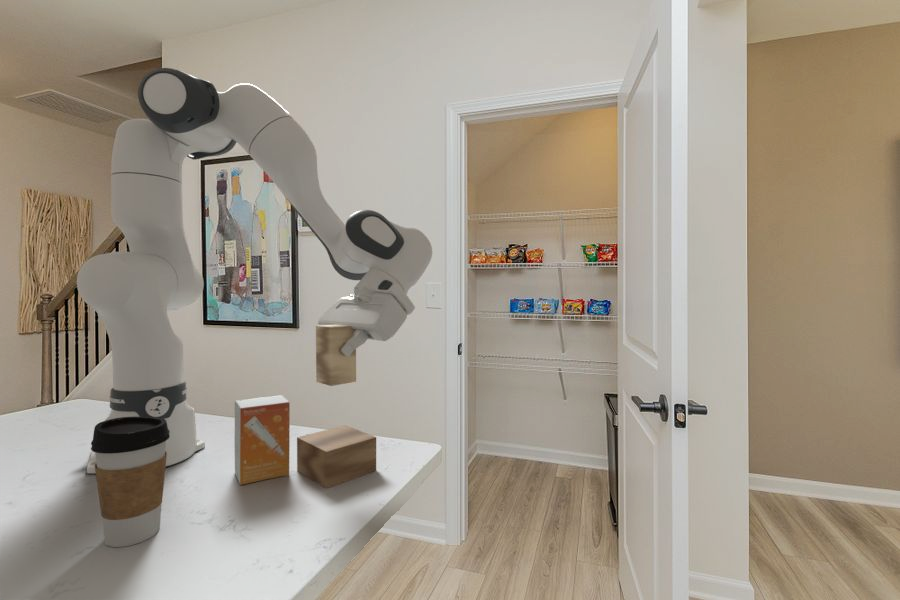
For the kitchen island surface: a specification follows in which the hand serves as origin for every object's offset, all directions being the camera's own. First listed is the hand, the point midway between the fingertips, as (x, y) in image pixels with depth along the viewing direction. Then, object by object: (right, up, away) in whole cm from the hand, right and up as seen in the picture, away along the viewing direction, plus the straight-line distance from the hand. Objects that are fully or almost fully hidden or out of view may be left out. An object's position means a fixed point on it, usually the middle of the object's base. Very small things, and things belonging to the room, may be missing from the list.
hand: (332, 351), depth 78 cm
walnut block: (0, -21, +1) cm, 21 cm away
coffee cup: (-21, -22, -20) cm, 36 cm away
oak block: (0, -5, +1) cm, 5 cm away
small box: (-12, -22, 0) cm, 25 cm away
